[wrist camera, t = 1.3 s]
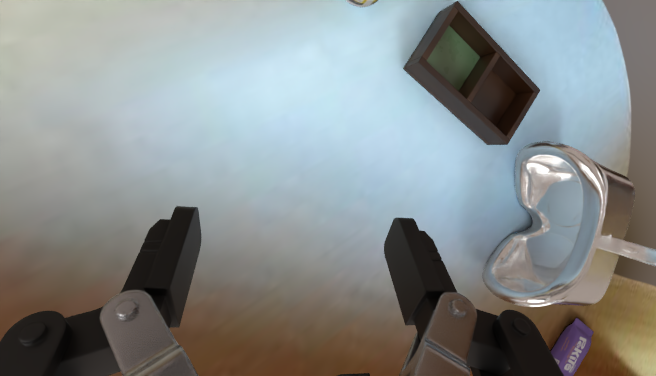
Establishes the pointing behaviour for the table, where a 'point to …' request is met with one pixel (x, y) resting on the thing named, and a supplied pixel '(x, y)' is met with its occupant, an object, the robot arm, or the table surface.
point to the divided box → (472, 76)
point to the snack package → (572, 347)
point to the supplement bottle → (361, 2)
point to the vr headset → (564, 230)
